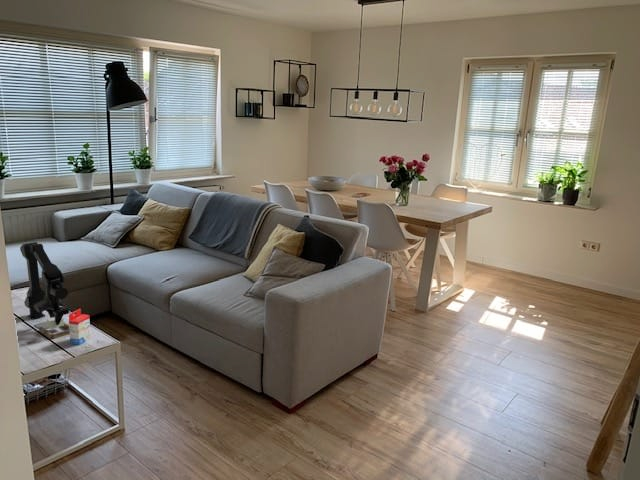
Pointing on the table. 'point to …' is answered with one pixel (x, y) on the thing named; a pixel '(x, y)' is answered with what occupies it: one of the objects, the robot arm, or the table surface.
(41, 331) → the frame
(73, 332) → the ink box
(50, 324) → the sage block
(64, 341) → the table surface
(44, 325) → the mat
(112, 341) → the table surface
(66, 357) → the table surface
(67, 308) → the robot arm
